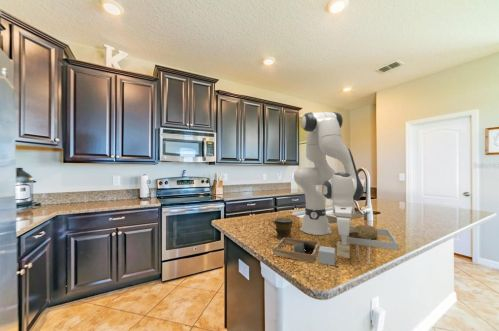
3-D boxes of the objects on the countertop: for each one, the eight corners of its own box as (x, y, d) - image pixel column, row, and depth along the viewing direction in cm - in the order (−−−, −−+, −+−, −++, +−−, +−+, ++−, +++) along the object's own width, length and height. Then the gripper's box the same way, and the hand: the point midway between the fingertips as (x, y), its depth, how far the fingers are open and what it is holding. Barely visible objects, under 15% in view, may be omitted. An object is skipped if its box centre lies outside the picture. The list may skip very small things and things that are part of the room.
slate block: (320, 257, 91) (320, 245, 91) (335, 260, 89) (335, 248, 89) (318, 263, 86) (318, 250, 86) (334, 266, 83) (334, 253, 83)
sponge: (366, 247, 106) (387, 233, 115) (361, 232, 106) (383, 219, 116) (344, 244, 117) (365, 231, 127) (339, 230, 118) (361, 219, 127)
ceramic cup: (291, 235, 122) (291, 217, 123) (293, 241, 113) (293, 222, 113) (269, 234, 124) (269, 217, 124) (269, 240, 114) (269, 221, 114)
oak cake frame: (283, 243, 109) (283, 237, 109) (318, 248, 102) (318, 242, 102) (272, 256, 93) (272, 249, 93) (313, 263, 86) (313, 255, 86)
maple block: (337, 252, 97) (337, 241, 97) (349, 254, 95) (349, 242, 95) (337, 256, 93) (336, 245, 93) (349, 258, 91) (349, 246, 91)
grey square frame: (342, 230, 132) (342, 225, 132) (388, 235, 121) (388, 229, 122) (341, 242, 110) (341, 236, 110) (397, 249, 100) (397, 243, 100)
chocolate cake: (302, 248, 103) (290, 235, 98) (316, 247, 99) (304, 233, 94) (301, 268, 96) (287, 254, 91) (315, 268, 92) (302, 253, 87)
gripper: (336, 205, 105) (337, 234, 104) (334, 212, 86) (335, 247, 85) (350, 206, 102) (351, 235, 101) (351, 213, 83) (352, 249, 83)
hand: (344, 241), depth 93 cm, fingers open, 8 cm apart
